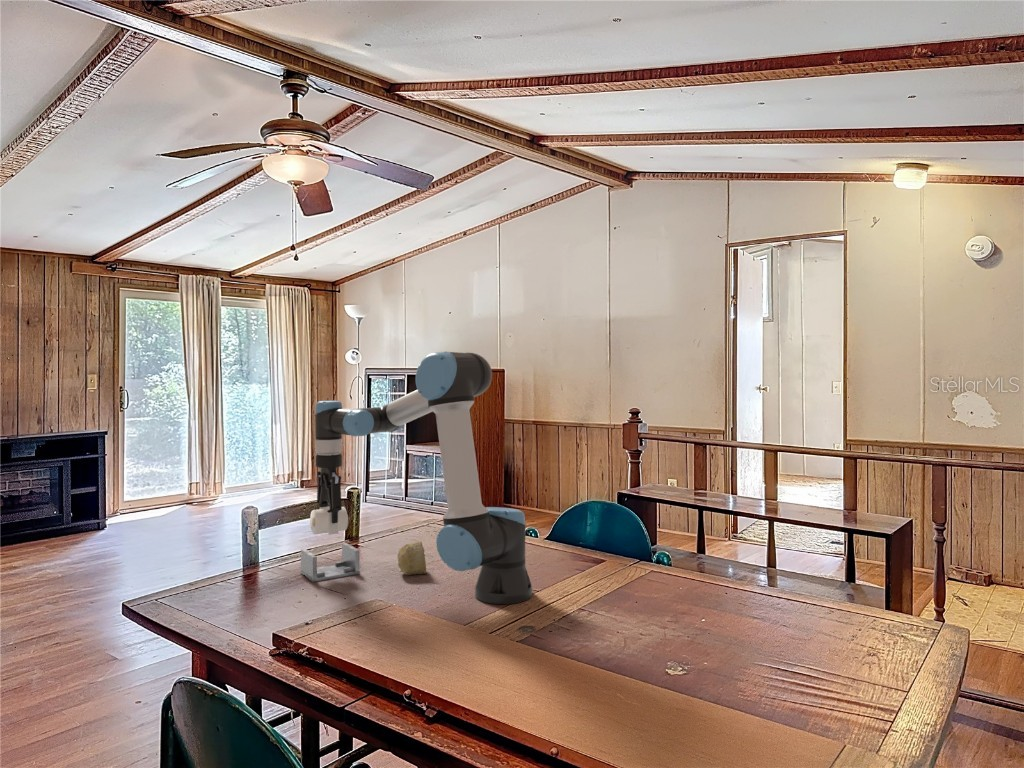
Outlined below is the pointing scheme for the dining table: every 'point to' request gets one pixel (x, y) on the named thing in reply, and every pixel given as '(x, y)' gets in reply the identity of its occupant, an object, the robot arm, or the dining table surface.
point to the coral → (412, 559)
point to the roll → (321, 521)
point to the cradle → (340, 569)
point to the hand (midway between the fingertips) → (329, 531)
